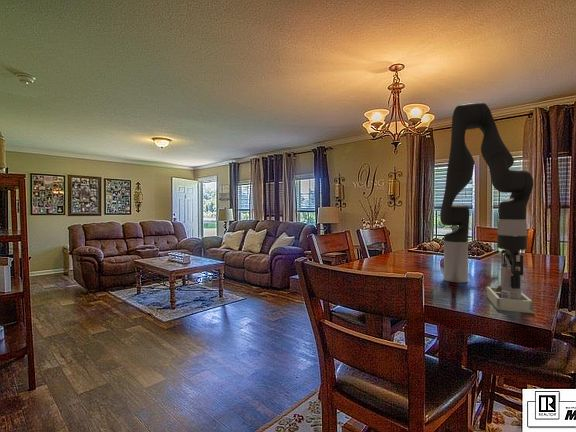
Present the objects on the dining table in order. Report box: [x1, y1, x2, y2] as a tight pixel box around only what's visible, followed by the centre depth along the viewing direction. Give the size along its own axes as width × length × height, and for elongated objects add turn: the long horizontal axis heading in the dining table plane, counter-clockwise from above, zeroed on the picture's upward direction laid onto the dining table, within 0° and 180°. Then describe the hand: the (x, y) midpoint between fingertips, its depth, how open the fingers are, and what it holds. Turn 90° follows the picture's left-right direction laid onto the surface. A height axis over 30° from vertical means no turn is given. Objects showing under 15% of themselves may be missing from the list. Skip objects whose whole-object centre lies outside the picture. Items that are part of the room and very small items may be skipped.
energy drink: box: [500, 266, 523, 300], centre depth 98 cm, size 5×5×12 cm
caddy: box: [486, 286, 534, 314], centre depth 101 cm, size 16×9×4 cm, turn 157°
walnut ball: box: [496, 284, 501, 293], centre depth 105 cm, size 5×5×5 cm
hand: (511, 285), depth 98 cm, fingers open, 8 cm apart
